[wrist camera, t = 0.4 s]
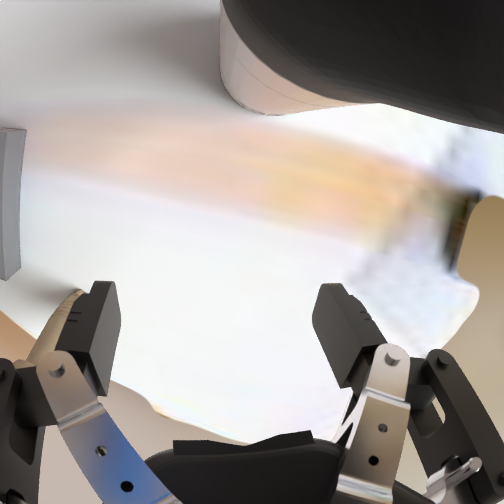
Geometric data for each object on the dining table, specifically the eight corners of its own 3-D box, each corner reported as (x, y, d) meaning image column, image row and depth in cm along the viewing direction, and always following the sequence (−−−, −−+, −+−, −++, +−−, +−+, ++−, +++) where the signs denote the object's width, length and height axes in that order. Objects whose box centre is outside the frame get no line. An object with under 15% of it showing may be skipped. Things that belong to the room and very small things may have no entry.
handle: (59, 309, 31) (4, 398, 17) (73, 269, 29) (4, 358, 15) (92, 328, 32) (49, 425, 19) (109, 291, 31) (57, 392, 17)
